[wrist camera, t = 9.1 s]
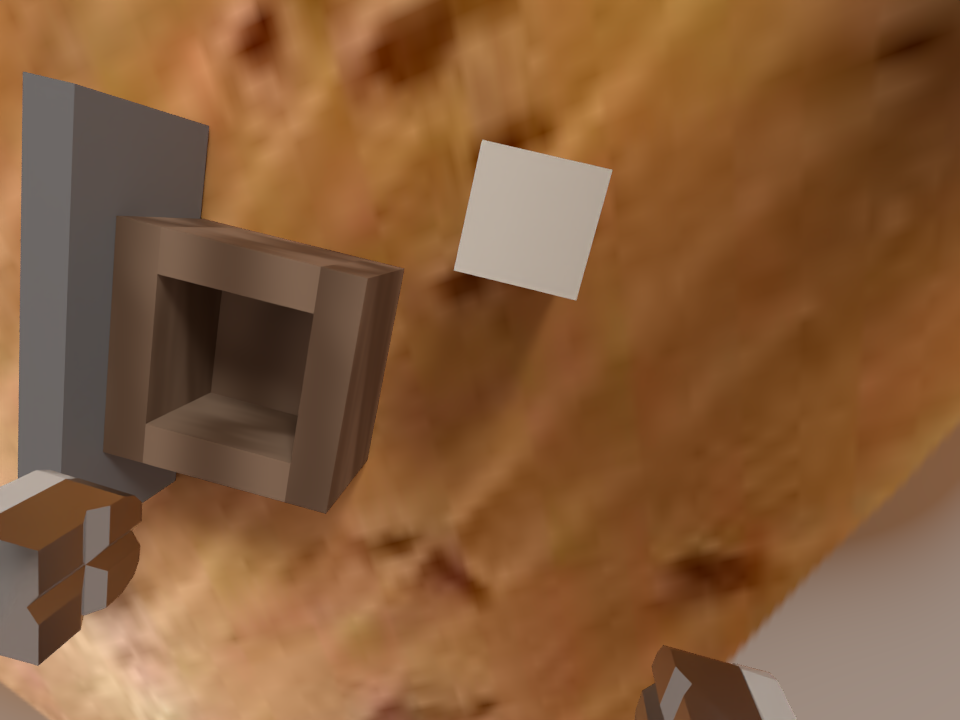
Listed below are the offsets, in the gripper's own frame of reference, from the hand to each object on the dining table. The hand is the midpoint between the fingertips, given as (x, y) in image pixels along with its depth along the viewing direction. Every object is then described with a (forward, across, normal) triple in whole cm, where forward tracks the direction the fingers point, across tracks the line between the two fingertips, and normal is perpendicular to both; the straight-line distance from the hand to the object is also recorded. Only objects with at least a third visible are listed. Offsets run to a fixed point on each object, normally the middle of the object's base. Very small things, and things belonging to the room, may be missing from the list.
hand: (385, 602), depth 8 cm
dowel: (+20, 0, -6) cm, 21 cm away
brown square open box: (+20, +11, +3) cm, 24 cm away
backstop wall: (+20, +18, +3) cm, 27 cm away
